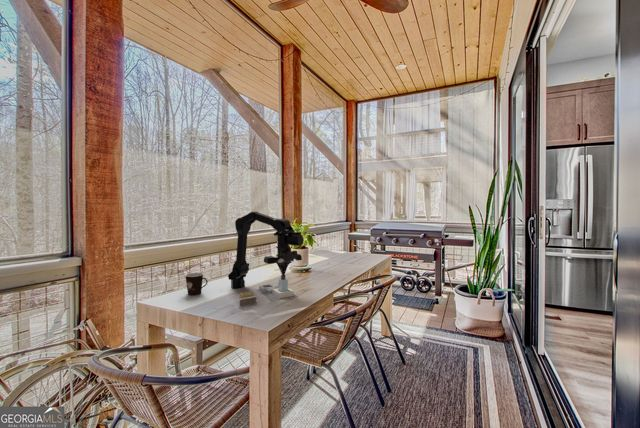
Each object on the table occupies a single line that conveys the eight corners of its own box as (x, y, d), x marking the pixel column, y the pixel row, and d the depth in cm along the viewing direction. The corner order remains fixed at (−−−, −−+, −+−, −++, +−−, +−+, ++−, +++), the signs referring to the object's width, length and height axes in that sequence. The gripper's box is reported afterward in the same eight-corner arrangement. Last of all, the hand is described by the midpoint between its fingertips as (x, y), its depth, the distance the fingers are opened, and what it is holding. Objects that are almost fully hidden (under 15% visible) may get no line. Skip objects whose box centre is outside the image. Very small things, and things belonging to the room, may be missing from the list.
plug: (281, 296, 152) (281, 276, 151) (278, 294, 155) (278, 274, 154) (287, 295, 154) (287, 275, 153) (284, 293, 156) (284, 274, 156)
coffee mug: (182, 293, 159) (182, 274, 159) (198, 290, 165) (198, 272, 165) (192, 298, 151) (192, 278, 151) (209, 294, 157) (208, 275, 157)
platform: (224, 306, 141) (224, 292, 141) (260, 299, 151) (260, 286, 151) (232, 314, 131) (232, 299, 131) (270, 306, 142) (270, 292, 141)
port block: (279, 298, 148) (279, 293, 148) (272, 293, 155) (272, 288, 155) (294, 295, 153) (294, 290, 153) (286, 291, 160) (286, 286, 159)
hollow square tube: (263, 293, 156) (263, 288, 156) (259, 290, 161) (259, 285, 161) (274, 291, 159) (274, 286, 159) (269, 288, 165) (269, 284, 165)
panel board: (272, 304, 144) (272, 301, 144) (255, 292, 162) (255, 289, 162) (298, 298, 151) (298, 296, 151) (279, 288, 170) (279, 285, 170)
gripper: (272, 248, 141) (272, 281, 142) (307, 245, 151) (307, 276, 152) (263, 245, 150) (263, 276, 151) (296, 242, 161) (296, 271, 161)
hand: (283, 275), depth 154 cm, fingers closed, pressing on plug
